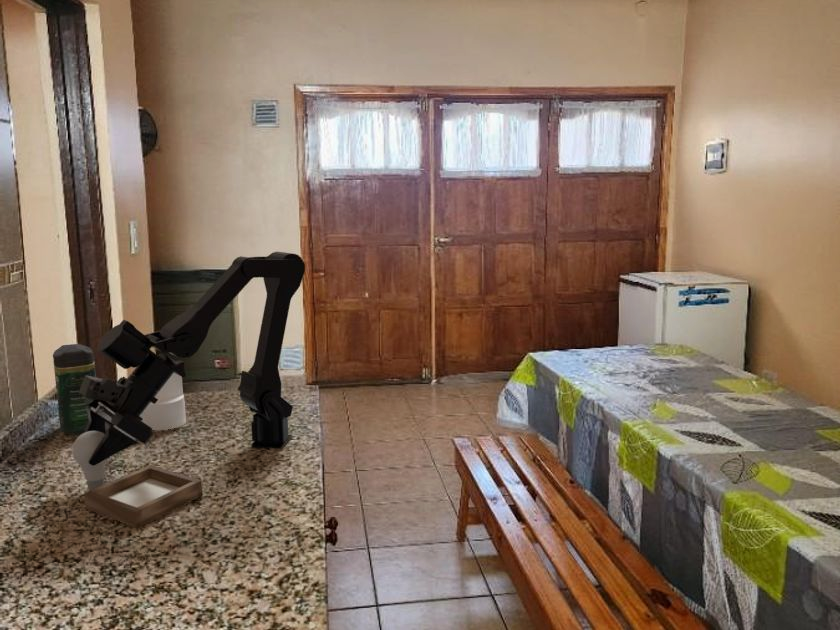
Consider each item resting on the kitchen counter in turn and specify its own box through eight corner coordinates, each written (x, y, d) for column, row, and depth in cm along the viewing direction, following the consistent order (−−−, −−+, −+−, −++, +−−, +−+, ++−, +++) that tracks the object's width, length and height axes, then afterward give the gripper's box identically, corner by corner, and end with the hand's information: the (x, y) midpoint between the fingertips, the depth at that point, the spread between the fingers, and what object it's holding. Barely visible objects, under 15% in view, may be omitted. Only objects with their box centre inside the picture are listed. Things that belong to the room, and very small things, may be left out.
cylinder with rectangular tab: (170, 414, 158) (166, 364, 156) (194, 422, 153) (190, 370, 150) (134, 425, 151) (130, 373, 148) (158, 433, 146) (154, 379, 143)
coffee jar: (103, 431, 147) (95, 348, 144) (62, 438, 143) (52, 353, 140) (98, 418, 155) (90, 339, 152) (59, 424, 151) (50, 343, 148)
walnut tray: (152, 479, 123) (150, 465, 122) (202, 495, 116) (201, 480, 116) (85, 509, 112) (83, 493, 111) (137, 528, 105) (135, 511, 105)
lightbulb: (123, 488, 119) (118, 428, 117) (94, 502, 114) (87, 440, 112) (99, 482, 122) (93, 423, 120) (69, 496, 116) (62, 435, 114)
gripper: (91, 348, 123) (29, 420, 118) (126, 368, 109) (59, 451, 104) (139, 381, 129) (83, 451, 124) (178, 404, 116) (117, 484, 111)
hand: (84, 458), depth 116 cm, fingers open, 7 cm apart
